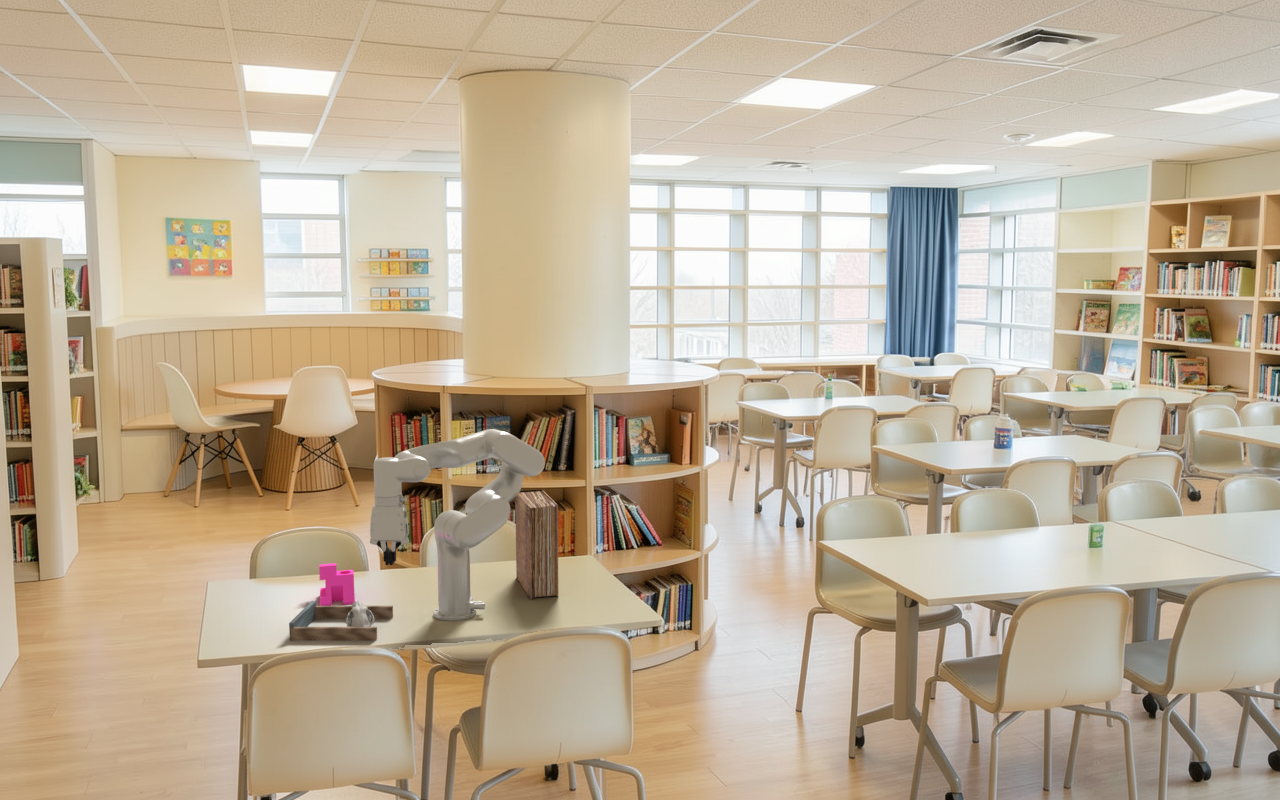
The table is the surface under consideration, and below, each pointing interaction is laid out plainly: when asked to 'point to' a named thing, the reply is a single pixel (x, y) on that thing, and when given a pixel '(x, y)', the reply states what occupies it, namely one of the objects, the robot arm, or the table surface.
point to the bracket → (336, 585)
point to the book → (537, 543)
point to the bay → (311, 611)
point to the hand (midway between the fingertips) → (390, 563)
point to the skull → (359, 616)
